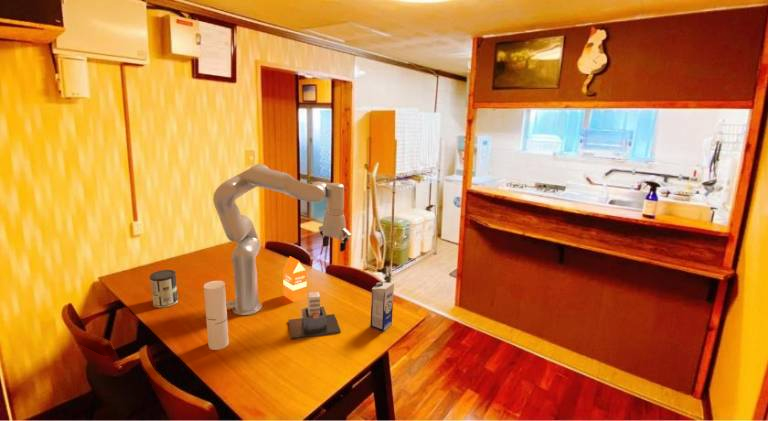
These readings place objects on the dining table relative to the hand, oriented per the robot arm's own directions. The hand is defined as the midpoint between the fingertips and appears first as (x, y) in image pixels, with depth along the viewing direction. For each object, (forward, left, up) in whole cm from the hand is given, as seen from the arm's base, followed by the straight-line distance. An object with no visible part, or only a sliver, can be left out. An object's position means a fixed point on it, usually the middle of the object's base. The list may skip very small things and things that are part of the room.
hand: (334, 248), depth 169 cm
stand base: (-11, -14, -30) cm, 35 cm away
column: (-11, -14, -28) cm, 34 cm away
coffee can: (-74, +24, -30) cm, 83 cm away
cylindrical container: (-48, -17, -30) cm, 59 cm away
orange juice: (-16, +16, -30) cm, 37 cm away
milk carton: (+17, -20, -30) cm, 40 cm away
